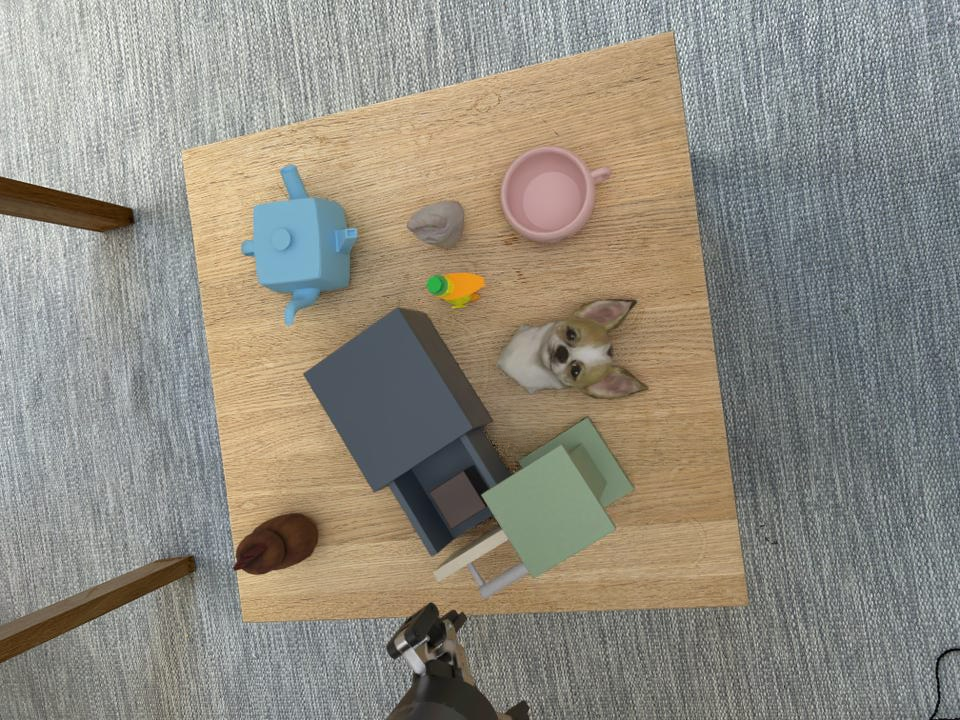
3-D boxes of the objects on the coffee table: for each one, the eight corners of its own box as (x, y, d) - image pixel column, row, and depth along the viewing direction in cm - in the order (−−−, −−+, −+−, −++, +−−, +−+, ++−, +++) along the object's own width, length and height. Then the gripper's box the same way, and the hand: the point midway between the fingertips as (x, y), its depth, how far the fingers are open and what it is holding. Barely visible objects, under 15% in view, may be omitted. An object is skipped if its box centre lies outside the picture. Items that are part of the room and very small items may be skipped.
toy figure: (499, 273, 86) (473, 259, 74) (503, 305, 86) (478, 296, 74) (441, 282, 87) (407, 271, 76) (445, 313, 87) (412, 306, 76)
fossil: (466, 205, 87) (441, 185, 77) (483, 230, 86) (460, 213, 76) (425, 235, 88) (395, 219, 78) (441, 260, 87) (413, 247, 78)
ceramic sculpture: (487, 310, 77) (638, 289, 74) (499, 314, 85) (635, 296, 83) (500, 415, 77) (652, 398, 74) (511, 409, 85) (648, 394, 83)
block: (495, 499, 84) (486, 507, 79) (462, 520, 85) (451, 529, 80) (473, 464, 84) (463, 470, 80) (440, 485, 85) (428, 492, 81)
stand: (634, 487, 82) (625, 532, 61) (564, 529, 84) (531, 587, 63) (588, 416, 83) (563, 435, 62) (520, 459, 85) (472, 492, 64)
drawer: (563, 545, 83) (554, 564, 76) (478, 596, 85) (460, 619, 78) (476, 406, 85) (458, 411, 78) (395, 460, 88) (370, 469, 80)
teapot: (267, 184, 92) (220, 163, 82) (377, 169, 89) (342, 145, 79) (277, 333, 92) (231, 330, 82) (387, 324, 89) (353, 319, 79)
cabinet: (493, 420, 86) (473, 428, 77) (404, 478, 88) (373, 492, 79) (425, 312, 88) (397, 306, 78) (339, 372, 90) (302, 373, 81)
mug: (525, 261, 85) (515, 254, 79) (496, 178, 86) (484, 165, 80) (629, 220, 82) (627, 210, 77) (598, 135, 83) (593, 118, 77)
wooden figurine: (318, 502, 91) (252, 529, 76) (332, 549, 90) (268, 585, 76) (268, 517, 92) (195, 546, 78) (282, 564, 92) (210, 602, 77)
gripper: (319, 697, 49) (402, 616, 65) (449, 897, 47) (502, 763, 63) (408, 634, 48) (471, 566, 64) (546, 836, 46) (575, 715, 61)
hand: (486, 664), depth 63 cm, fingers open, 8 cm apart
